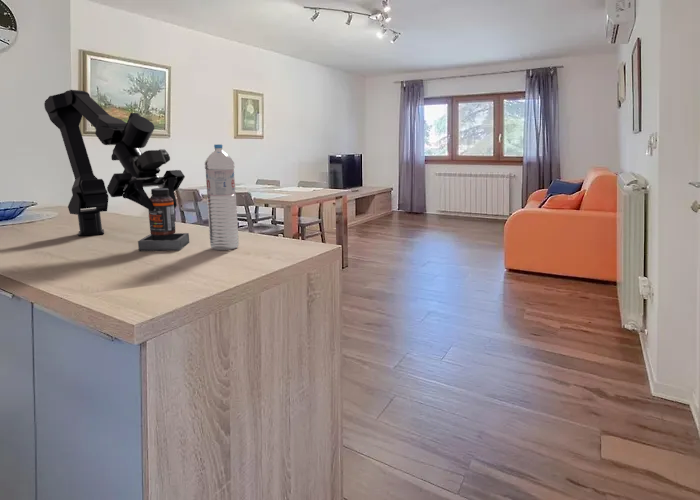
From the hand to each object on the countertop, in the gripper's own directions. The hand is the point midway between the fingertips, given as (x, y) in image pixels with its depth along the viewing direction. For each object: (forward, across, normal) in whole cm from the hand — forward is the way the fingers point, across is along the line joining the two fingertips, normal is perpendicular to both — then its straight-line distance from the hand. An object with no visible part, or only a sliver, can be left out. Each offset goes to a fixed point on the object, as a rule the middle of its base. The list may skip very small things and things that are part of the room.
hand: (164, 208), depth 118 cm
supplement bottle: (+4, 0, +6) cm, 7 cm away
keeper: (+6, 0, +8) cm, 10 cm away
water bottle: (+16, +7, -2) cm, 18 cm away
